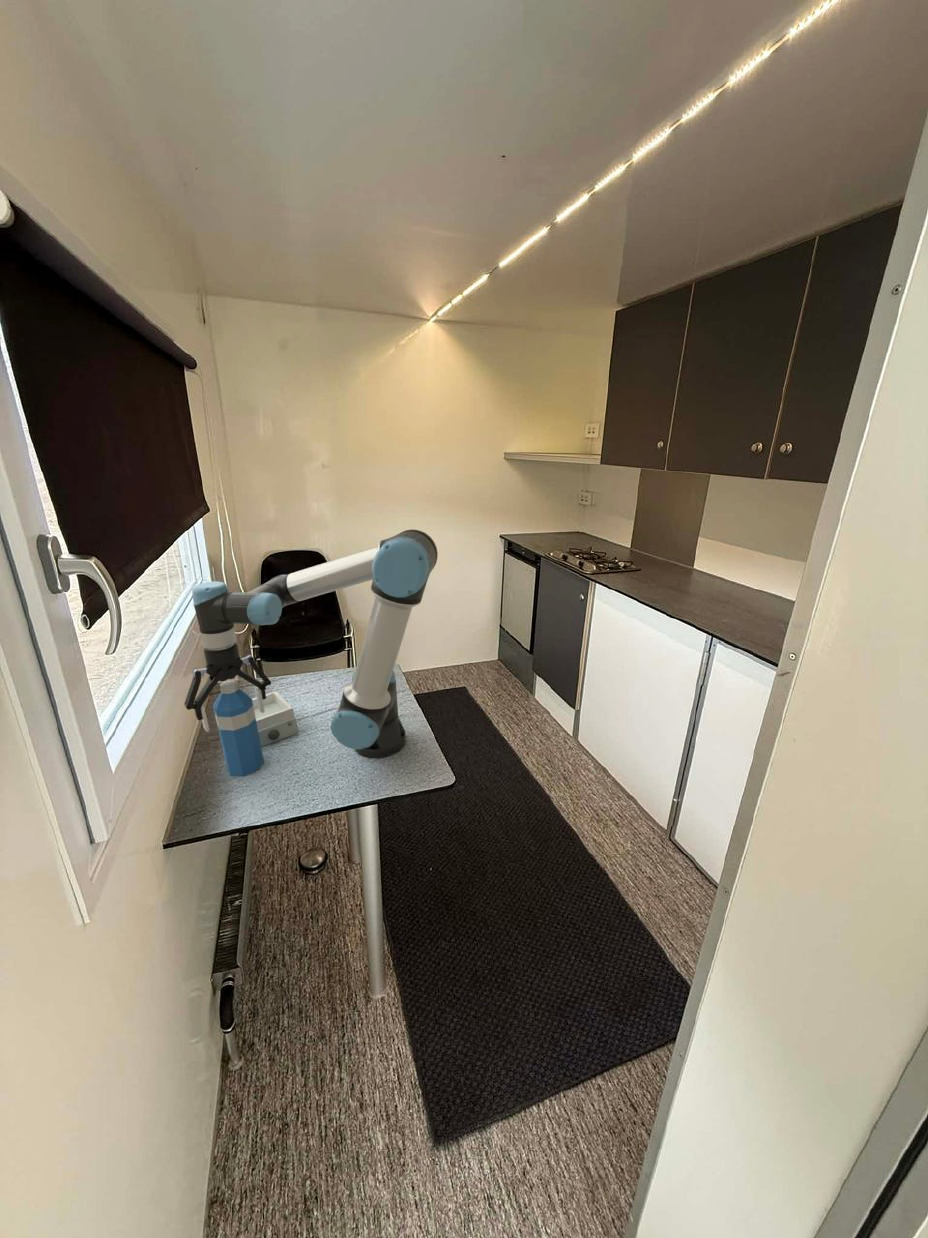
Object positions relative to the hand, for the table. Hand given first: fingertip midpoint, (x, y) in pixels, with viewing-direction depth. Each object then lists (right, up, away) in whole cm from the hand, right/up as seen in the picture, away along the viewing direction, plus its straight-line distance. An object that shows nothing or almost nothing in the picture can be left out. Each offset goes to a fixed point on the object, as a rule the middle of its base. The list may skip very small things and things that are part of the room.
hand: (235, 719), depth 124 cm
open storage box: (-1, -8, +21) cm, 22 cm away
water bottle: (+1, -14, +5) cm, 15 cm away
